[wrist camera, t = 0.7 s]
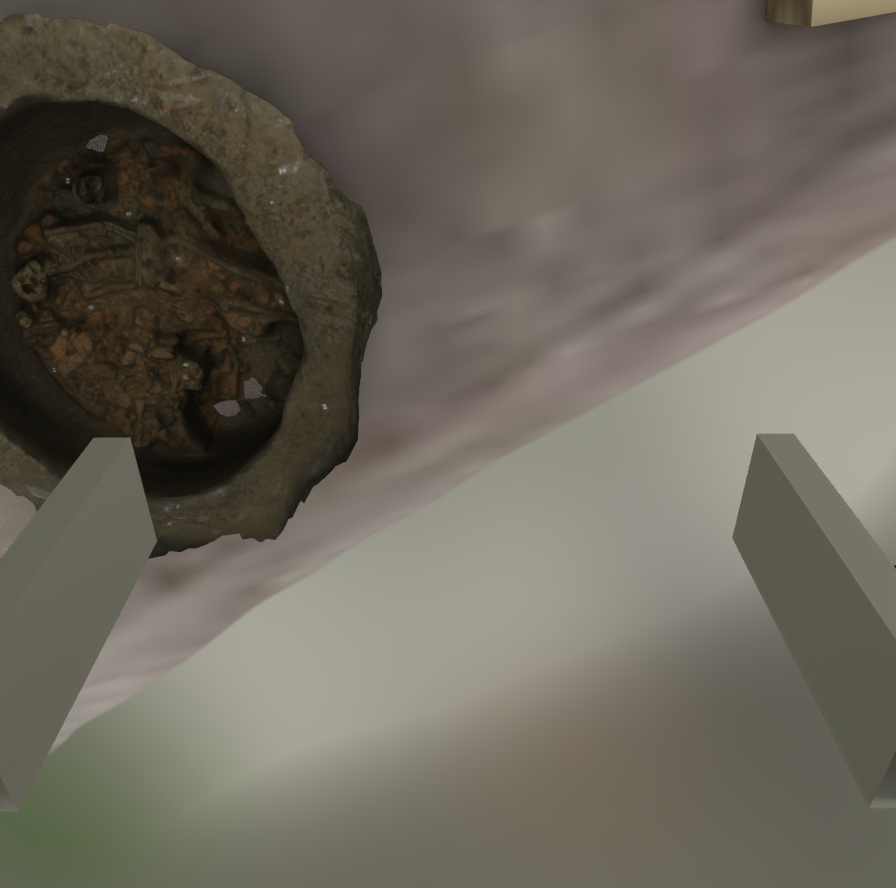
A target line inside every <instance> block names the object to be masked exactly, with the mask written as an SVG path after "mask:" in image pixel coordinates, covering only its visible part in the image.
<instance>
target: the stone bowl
mask: <svg viewBox="0 0 896 888" xmlns="http://www.w3.org/2000/svg"><path fill="white" fill-rule="evenodd" d="M294 128H295V126H294V125H293V123H292V121H291V120H290V119H288V118H287V117H286V116H285V115H283V114H282V113H281V112H280V111H279V110H278V109H277V108H276V107H274V106H273V105H272V104H270V103H269V102H266V101H265V100H263V99H261V98H259V97H257V96H255V95H253V94H252V93H250V92H248V91H247V90H245V89H243V88H241V87H240V86H239V85H237V84H236V83H235V82H234V81H232V80H230V79H228V78H226V77H225V76H221V75H219V74H218V73H216V72H214V71H213V70H207V69H202V68H200V67H198V66H196V65H194V64H192V63H190V62H188V61H186V60H185V59H184V58H182V57H181V56H179V55H178V54H177V53H175V52H174V51H172V50H171V49H169V48H167V47H165V46H163V45H161V44H160V43H159V42H158V41H157V40H156V39H155V38H153V37H152V36H150V35H148V34H146V33H144V32H141V31H137V30H132V29H128V28H125V27H123V26H121V25H117V24H114V23H108V24H107V26H100V25H97V24H94V23H90V22H87V21H83V20H79V19H76V18H60V19H49V18H46V17H44V16H42V15H40V14H38V13H34V14H33V15H28V14H13V15H11V16H9V17H7V18H5V19H4V20H3V21H2V22H1V24H0V484H2V485H4V486H5V487H7V488H9V489H11V490H12V491H13V492H14V493H15V494H16V495H17V496H25V497H26V498H27V499H29V500H30V501H31V502H33V504H34V505H35V508H36V510H37V511H38V510H39V508H40V507H41V506H42V505H43V503H44V502H45V501H46V499H47V498H48V497H49V495H50V494H51V493H52V492H53V490H54V489H55V488H56V486H57V485H58V484H59V482H60V481H61V480H62V478H63V477H64V476H65V475H66V473H67V472H68V471H69V469H70V468H71V467H72V465H73V464H74V463H75V462H76V460H77V459H78V458H79V456H80V455H81V454H82V452H83V451H84V450H85V448H86V447H87V446H88V445H89V443H90V442H91V441H92V439H93V438H130V439H131V443H132V446H133V450H134V454H135V458H136V462H137V466H138V470H139V473H140V477H141V481H142V485H143V489H144V493H145V496H146V500H147V504H148V508H149V512H150V516H151V520H152V523H153V527H154V531H155V535H156V539H157V542H156V544H155V546H154V548H153V550H152V552H151V554H150V556H149V558H154V557H159V556H163V555H166V554H167V553H168V552H169V551H176V552H182V551H184V550H186V549H188V548H198V547H201V546H203V545H206V544H208V543H210V542H212V541H215V540H216V539H217V538H219V537H220V536H222V535H231V534H237V533H240V535H241V537H242V539H248V538H255V539H256V540H257V541H259V542H263V541H264V540H265V539H273V540H276V538H277V537H278V536H279V535H280V534H281V532H282V531H283V529H284V527H285V525H286V523H287V521H288V519H290V518H292V517H293V515H294V513H295V511H296V509H297V507H298V505H299V502H300V501H302V502H303V503H304V502H305V500H306V498H307V497H308V495H309V493H310V491H311V489H312V488H313V486H315V485H317V484H318V483H319V482H320V481H321V480H322V479H324V478H325V477H326V476H327V475H328V474H329V473H330V472H331V471H332V470H333V469H334V467H335V466H337V465H339V464H341V463H343V462H346V461H347V459H348V458H349V456H350V454H351V452H352V450H353V448H354V446H355V444H356V442H357V440H358V423H359V406H358V395H359V385H360V378H361V361H362V362H363V357H364V351H365V347H366V344H367V341H368V338H369V335H370V332H371V329H372V328H373V326H374V325H375V323H376V321H377V319H378V318H377V310H378V307H379V304H380V300H381V297H382V288H381V270H380V266H379V262H378V258H377V254H376V250H375V247H374V244H373V240H372V236H371V232H370V228H369V225H368V222H367V219H366V216H365V214H364V211H363V209H362V206H360V205H358V204H356V203H354V202H352V201H350V200H348V199H347V198H346V196H345V195H344V194H343V193H341V192H340V191H339V190H338V189H337V188H336V186H335V185H334V183H333V181H332V179H331V177H330V175H329V173H328V170H327V169H326V168H325V167H324V166H323V165H322V164H320V163H318V162H316V161H314V160H312V159H310V158H309V157H308V156H307V154H306V152H305V150H304V149H303V147H302V145H301V143H300V142H299V140H298V139H297V137H296V136H295V134H294ZM98 135H106V136H108V141H107V144H106V148H105V151H104V152H98V151H95V150H92V149H87V148H86V145H87V143H88V142H89V140H90V139H92V138H94V137H96V136H98ZM92 206H94V208H92ZM250 377H253V378H255V379H256V380H257V381H258V382H259V384H260V385H261V386H262V394H261V397H260V398H257V399H251V398H247V399H246V398H244V386H243V383H244V381H246V380H249V379H250ZM226 400H238V401H237V403H238V404H239V406H240V410H241V411H240V412H239V413H237V414H236V415H235V416H232V417H226V416H223V415H221V414H219V413H218V412H217V410H216V409H215V408H214V406H213V405H215V404H217V403H219V402H222V401H226ZM149 558H148V559H149Z"/></svg>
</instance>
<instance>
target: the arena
mask: <svg viewBox="0 0 896 888" xmlns="http://www.w3.org/2000/svg"><path fill="white" fill-rule="evenodd" d="M892 12H896V0H767V19H766V22H774V23H782V24H791V25H799V26H807V27H813V26H819V25H825V24H830V23H836V22H842V21H847V20H853V19H858V18H864V17H870V16H875V15H881V14H886V13H892Z"/></svg>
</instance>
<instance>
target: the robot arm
mask: <svg viewBox="0 0 896 888" xmlns="http://www.w3.org/2000/svg"><path fill="white" fill-rule="evenodd" d="M733 540H734V542H735V544H736V546H737V548H738V550H739V552H740V554H741V556H742V558H743V560H744V562H745V564H746V566H747V568H748V570H749V572H750V574H751V576H752V578H753V580H754V581H755V584H756V586H757V587H758V589H759V591H760V593H761V595H762V597H763V599H764V601H765V603H766V605H767V607H768V609H769V611H770V613H771V615H772V617H773V619H774V621H775V623H776V625H777V627H778V629H779V631H780V633H781V635H782V637H783V639H784V641H785V643H786V645H787V647H788V649H789V651H790V653H791V655H792V657H793V659H794V660H795V663H796V665H797V666H798V668H799V670H800V672H801V674H802V676H803V678H804V680H805V682H806V684H807V686H808V688H809V690H810V692H811V694H812V696H813V698H814V700H815V702H816V704H817V706H818V708H819V710H820V712H821V714H822V716H823V718H824V720H825V722H826V724H827V726H828V728H829V729H830V732H831V734H832V736H833V738H834V739H835V742H836V744H837V745H838V747H839V749H840V751H841V753H842V755H843V757H844V759H845V761H846V763H847V765H848V767H849V769H850V771H851V773H852V775H853V777H854V779H855V781H856V783H857V785H858V787H859V789H860V791H861V793H862V795H863V797H864V798H865V801H866V803H867V805H868V807H869V808H896V565H895V566H894V565H893V564H892V563H891V562H890V560H889V559H888V558H887V557H886V555H885V554H884V552H883V551H882V550H881V549H880V547H879V546H878V545H877V543H876V542H875V541H874V539H873V538H872V537H871V536H870V534H869V533H868V531H867V530H866V529H865V527H864V526H863V525H862V523H861V522H860V521H859V519H858V518H857V517H856V515H855V514H854V513H853V512H852V510H851V509H850V508H849V506H848V505H847V503H846V502H845V501H844V500H843V498H842V497H841V496H840V494H839V493H838V492H837V490H836V489H835V488H834V486H833V485H832V484H831V482H830V481H829V480H828V478H827V477H826V476H825V474H824V473H823V472H822V470H821V469H820V468H819V467H818V465H817V464H816V463H815V461H814V460H813V459H812V457H811V456H810V455H809V454H808V452H807V451H806V449H805V448H804V447H803V445H802V444H801V443H800V442H799V440H798V439H797V438H796V436H795V435H794V434H757V436H756V440H755V445H754V449H753V453H752V457H751V462H750V466H749V470H748V475H747V478H746V483H745V487H744V491H743V496H742V500H741V504H740V508H739V512H738V516H737V521H736V525H735V529H734V533H733ZM156 542H157V539H156V535H155V531H154V527H153V523H152V520H151V516H150V512H149V508H148V504H147V500H146V496H145V493H144V489H143V485H142V481H141V477H140V473H139V470H138V466H137V462H136V458H135V454H134V450H133V446H132V443H131V439H130V438H93V439H92V441H91V442H90V443H89V445H88V446H87V447H86V448H85V450H84V451H83V452H82V454H81V455H80V456H79V458H78V459H77V460H76V462H75V463H74V464H73V465H72V467H71V468H70V469H69V471H68V472H67V473H66V475H65V476H64V477H63V478H62V480H61V481H60V482H59V484H58V485H57V486H56V488H55V489H54V490H53V492H52V493H51V494H50V495H49V497H48V498H47V499H46V501H45V502H44V503H43V505H42V506H41V507H40V508H39V510H38V511H37V512H36V514H35V515H34V516H33V518H32V519H31V520H30V521H29V523H28V524H27V525H26V527H25V528H24V529H23V531H22V532H21V533H20V535H19V536H18V537H17V538H16V540H15V541H14V542H13V544H12V545H11V546H10V548H9V549H8V550H7V551H6V553H5V554H4V555H3V557H2V558H1V559H0V812H18V810H19V808H20V807H21V805H22V803H23V801H24V799H25V797H26V795H27V793H28V791H29V789H30V787H31V785H32V783H33V781H34V779H35V777H36V775H37V773H38V771H39V770H40V768H41V766H42V764H43V762H44V760H45V758H46V756H47V754H48V752H49V750H50V748H51V746H52V744H53V742H54V740H55V739H56V737H57V735H58V733H59V731H60V729H61V727H62V725H63V723H64V721H65V719H66V717H67V715H68V713H69V711H70V709H71V707H72V706H73V704H74V702H75V700H76V698H77V696H78V694H79V692H80V690H81V688H82V686H83V684H84V682H85V680H86V678H87V676H88V674H89V672H90V671H91V669H92V667H93V665H94V663H95V661H96V659H97V657H98V655H99V653H100V651H101V649H102V647H103V645H104V643H105V641H106V639H107V637H108V636H109V634H110V632H111V630H112V628H113V626H114V624H115V622H116V620H117V618H118V616H119V614H120V612H121V610H122V608H123V606H124V604H125V603H126V601H127V599H128V597H129V595H130V593H131V591H132V589H133V587H134V585H135V583H136V581H137V579H138V577H139V575H140V573H141V571H142V569H143V568H144V566H145V564H146V562H147V560H148V558H149V556H150V554H151V552H152V550H153V548H154V546H155V544H156Z"/></svg>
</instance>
